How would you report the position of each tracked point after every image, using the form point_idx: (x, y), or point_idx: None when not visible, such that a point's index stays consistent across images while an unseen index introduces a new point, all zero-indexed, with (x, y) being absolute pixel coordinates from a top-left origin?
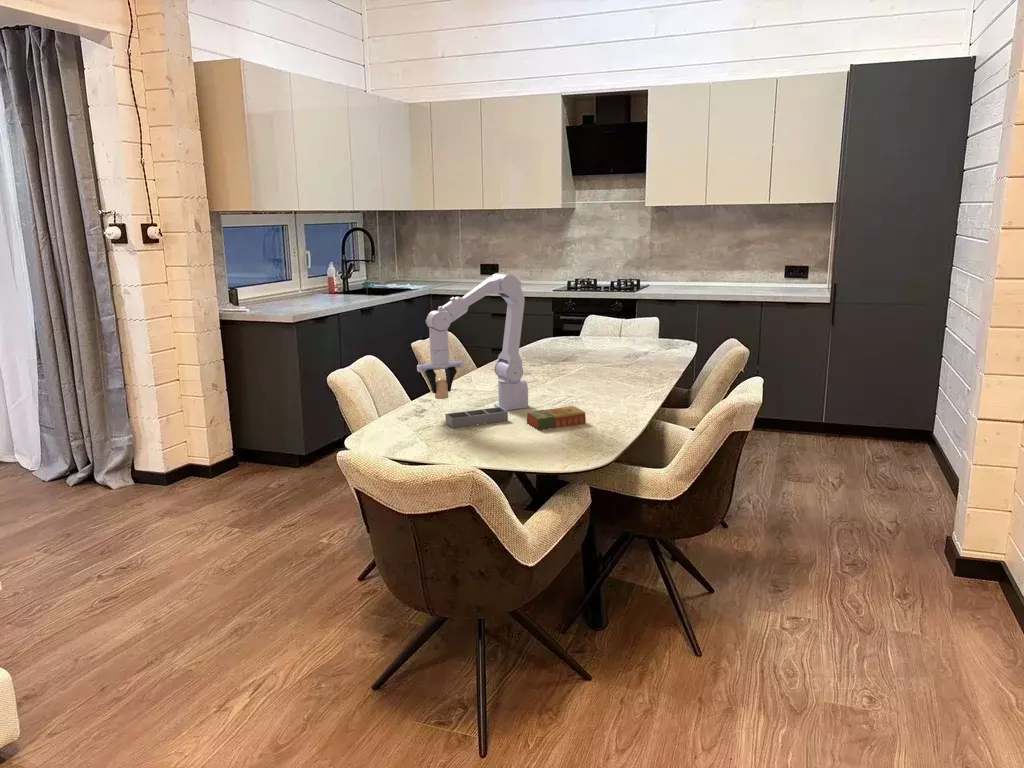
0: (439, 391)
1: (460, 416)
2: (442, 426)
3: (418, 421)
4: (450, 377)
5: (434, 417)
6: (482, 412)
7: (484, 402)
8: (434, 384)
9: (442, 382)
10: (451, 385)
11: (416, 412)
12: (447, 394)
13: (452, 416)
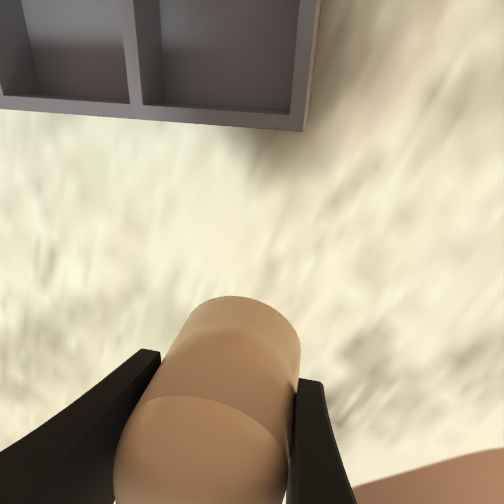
0: (265, 367)
1: (186, 104)
2: (368, 46)
3: (441, 269)
4: (5, 499)
5: (310, 289)
6: (15, 78)
7: (17, 363)
8: (317, 479)
9: (184, 463)
10: (90, 390)
11: (349, 413)
12: (187, 325)
13: (249, 110)
